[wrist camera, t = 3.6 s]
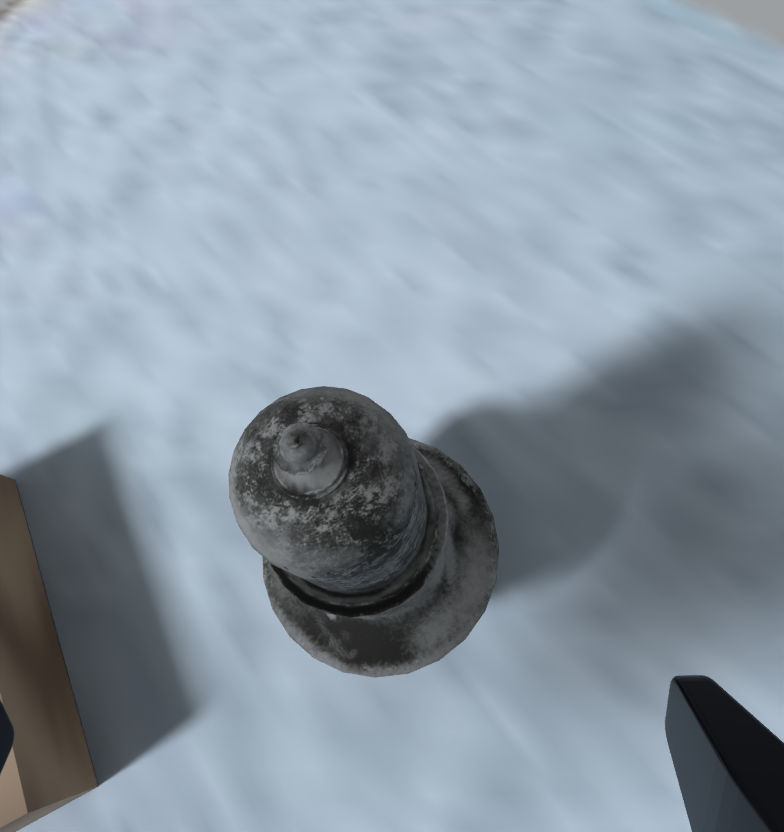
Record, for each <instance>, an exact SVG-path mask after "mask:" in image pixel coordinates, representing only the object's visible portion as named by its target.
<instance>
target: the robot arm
mask: <svg viewBox="0 0 784 832" xmlns="http://www.w3.org/2000/svg"><path fill="white" fill-rule="evenodd" d="M665 730H666V737H667V742H668V746H669V749H670V753H671V756H672V760H673V764H674V767H675V771H676V775H677V778H678V782H679V786H680V789H681V793H682V796H683V800H684V804H685V807H686V811H687V815H688V818H689V822H690V826H691V829H692V832H784V743H783V742H782V741H781V740H780V739H779V738H778V737H777V736H775V735H774V734H773V733H772V732H771V731H770V730H769V729H768V728H766V727H765V726H764V725H763V724H762V723H761V722H760V721H759V720H757V719H756V718H755V717H754V716H753V715H752V714H751V713H750V712H748V711H747V710H746V709H745V708H744V707H743V706H742V705H741V704H739V703H738V702H737V701H736V700H735V699H734V698H733V697H732V696H730V695H729V694H728V693H727V692H726V691H725V690H724V689H723V688H722V687H720V686H719V685H718V684H717V683H716V682H715V681H714V680H712V679H711V678H709V677H707V676H703V675H686V676H675V677H674V678H673V679H672V681H671V684H670V690H669V697H668V704H667V711H666V719H665ZM14 735H15V732H14V726H13V724H12V722H11V720H10V718H9V716H8V714H7V712H6V710H5V708H4V706H3V703H2V701H1V699H0V775H1V772H2V770H3V767H4V765H5V763H6V760H7V758H8V756H9V753H10V751H11V749H12V746H13V742H14Z"/></svg>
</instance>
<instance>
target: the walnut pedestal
mask: <svg viewBox="0 0 784 832" xmlns="http://www.w3.org/2000/svg"><path fill="white" fill-rule="evenodd" d="M0 699H1V701H2V703H3V706H4V708H5V710H6V712H7V714H8V716H9V718H10V720H11V722H12V724H13V726H14V732H15V735H14V742H13V746H12V749H11V751H10V753H9V756H8V758H7V760H6V763H5V765H4V767H3V770H2V772H1V775H0V832H16V831H17V830H19V829H21V828H23V827H25V826H27V825H28V824H30V823H32V822H34V821H36V820H38V819H39V818H41V817H43V816H45V815H47V814H49V813H50V812H52V811H54V810H56V809H58V808H60V807H61V806H63V805H65V804H67V803H69V802H71V801H72V800H74V799H76V798H78V797H80V796H82V795H83V794H85V793H87V792H89V791H91V790H92V789H94V788H96V787H98V784H97V781H96V777H95V773H94V770H93V766H92V762H91V758H90V755H89V751H88V747H87V744H86V740H85V736H84V733H83V729H82V725H81V722H80V718H79V714H78V711H77V707H76V703H75V700H74V696H73V692H72V688H71V685H70V681H69V677H68V674H67V670H66V666H65V663H64V659H63V655H62V652H61V648H60V644H59V641H58V637H57V633H56V629H55V626H54V622H53V618H52V615H51V611H50V607H49V604H48V600H47V596H46V593H45V589H44V585H43V582H42V578H41V574H40V570H39V567H38V563H37V559H36V556H35V552H34V548H33V545H32V541H31V537H30V534H29V530H28V526H27V523H26V519H25V515H24V511H23V508H22V504H21V500H20V497H19V493H18V489H17V486H16V482H15V480H13V479H11V478H8V477H5V476H3V475H0Z"/></svg>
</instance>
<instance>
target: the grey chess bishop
mask: <svg viewBox="0 0 784 832" xmlns="http://www.w3.org/2000/svg"><path fill="white" fill-rule="evenodd" d="M229 498H230V501H231V505H232V508H233V511H234V515H235V518H236V521H237V523H238V525H239V527H240V529H241V530H242V532H243V533H244V535H245V537H246V538H247V540H248V541H249V543H250V544H251V546H252V548H254V549H255V550H256V551H257V552H258V553H259V554H260V555H262V556H263V578H264V582H265V586H266V589H267V592H268V596H269V599H270V602H271V605H272V609H273V611H274V612H275V614H276V615H277V617H278V619H279V620H280V622H281V623H282V625H283V627H284V628H285V630H286V631H287V633H288V634H289V636H290V637H291V638H292V639H293V640H294V641H295V642H297V643H298V644H299V645H300V646H301V647H302V648H303V649H304V650H305V651H306V652H308V653H309V654H310V655H311V656H312V657H313V658H315V659H317V660H319V661H321V662H323V663H325V664H327V665H329V666H331V667H333V668H336V669H338V670H340V671H342V672H345V673H352V674H358V675H364V676H370V677H383V676H391V675H399V674H408V673H411V672H413V671H415V670H418V669H420V668H422V667H425V666H427V665H429V664H432V663H434V662H436V661H439V660H440V659H441V658H443V657H444V656H445V655H446V654H448V653H449V652H450V651H451V650H452V649H454V648H455V647H456V646H457V645H459V644H460V643H461V642H462V641H464V640H465V639H466V637H467V636H468V635H469V633H470V632H471V630H472V629H473V628H474V626H475V625H476V623H477V622H478V620H479V619H480V618H481V616H482V615H483V613H484V612H485V610H486V607H487V604H488V601H489V599H490V596H491V593H492V590H493V588H494V585H495V582H496V576H497V565H498V553H499V546H498V540H497V534H496V529H495V523H494V518H493V515H492V513H491V511H490V509H489V506H488V504H487V502H486V500H485V498H484V496H483V494H482V491H481V489H480V488H479V487H478V485H477V484H476V483H475V482H474V481H473V479H472V478H471V477H470V476H469V475H468V474H467V472H466V471H465V470H464V469H463V468H462V466H461V465H459V464H458V463H456V462H455V461H454V460H452V459H451V458H449V457H448V456H447V455H445V454H444V453H442V452H441V451H439V450H438V449H436V448H434V447H431V446H428V445H426V444H423V443H420V442H418V441H415V440H412V439H410V438H408V436H407V434H406V432H405V431H404V430H403V429H402V427H401V426H400V425H399V424H398V422H397V421H396V420H395V419H394V417H393V416H392V415H391V414H390V413H389V412H387V411H386V410H385V409H383V408H382V407H381V406H379V405H378V404H377V403H375V402H374V401H372V400H371V399H370V398H368V397H366V396H364V395H361V394H358V393H356V392H353V391H351V390H348V389H344V388H334V387H325V386H322V387H315V388H308V389H301V390H298V391H296V392H293V393H291V394H288V395H286V396H283V397H281V398H279V399H277V400H276V401H275V402H273V403H272V404H270V405H269V406H267V407H266V408H265V409H263V410H262V411H260V413H259V414H258V415H257V416H256V417H255V418H254V419H253V421H252V422H251V423H250V424H249V425H248V426H247V428H246V429H245V430H244V432H243V434H242V436H241V438H240V440H239V442H238V444H237V446H236V448H235V450H234V453H233V457H232V462H231V466H230V470H229Z"/></svg>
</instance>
